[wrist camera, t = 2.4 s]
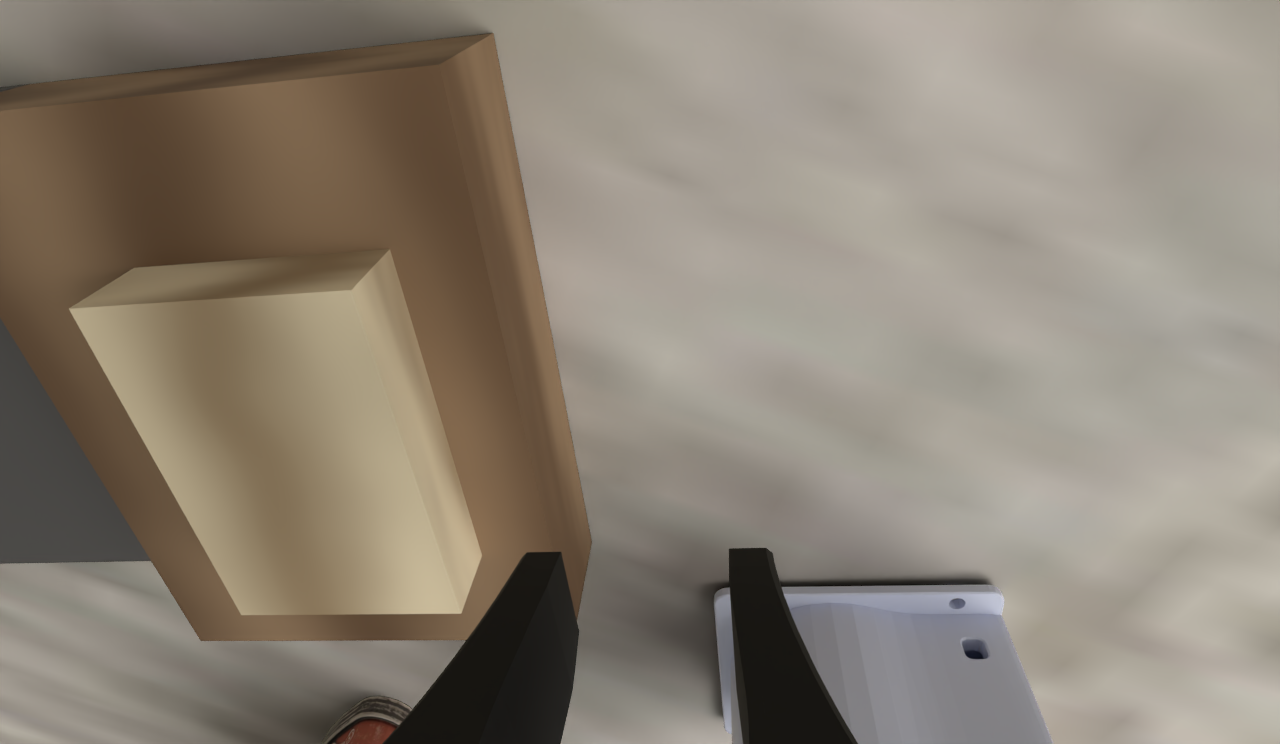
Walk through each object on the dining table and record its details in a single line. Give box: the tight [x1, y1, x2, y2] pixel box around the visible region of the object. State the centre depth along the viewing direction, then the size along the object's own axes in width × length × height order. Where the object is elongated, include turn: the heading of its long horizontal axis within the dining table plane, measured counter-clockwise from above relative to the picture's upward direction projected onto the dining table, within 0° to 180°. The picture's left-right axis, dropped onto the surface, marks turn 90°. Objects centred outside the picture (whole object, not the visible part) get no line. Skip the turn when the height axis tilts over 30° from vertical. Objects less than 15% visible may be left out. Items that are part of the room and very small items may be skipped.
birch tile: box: [69, 249, 482, 615], centre depth 18 cm, size 6×9×2 cm, turn 6°
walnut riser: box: [0, 33, 592, 641], centre depth 20 cm, size 12×16×4 cm
